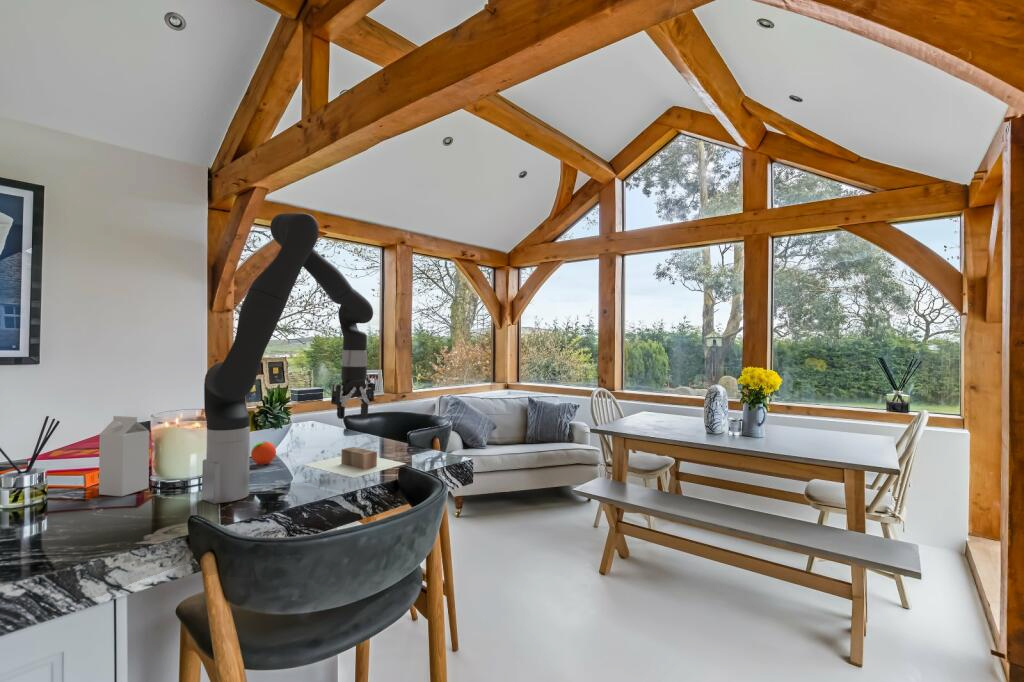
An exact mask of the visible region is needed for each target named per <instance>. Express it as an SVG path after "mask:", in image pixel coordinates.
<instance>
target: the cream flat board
mask: <svg viewBox="0 0 1024 682" xmlns="http://www.w3.org/2000/svg"><path fill="white" fill-rule="evenodd" d="M341 458H342V455H340V456H336V457H331V458H327V459H326V458H325V459H323V460H317V461H313V462H308V463H304V464H303V466H306V467H311V468H314V469H317V470H322V471H325V472H329V473H334V474H336V475H340V476H344V477H349V478H353V479H354V478H358V477H362V476H367V475H370V474H373V473H377V472H380V471H384V470H389V469H392V468H395V467H400V466H404V465H407V463H406V462H402V461H401V462H400V461H396V460H392V459H387V458H383V457H382V458H381V457H378V456H377V467H373V468H369V469H360V468H356V467H352V466H348V465H344V464H341Z"/></svg>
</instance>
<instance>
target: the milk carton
mask: <svg viewBox="0 0 1024 682" xmlns="http://www.w3.org/2000/svg"><path fill="white" fill-rule="evenodd" d="M98 444H99V455H98V458H99V459H98V460H99V463H98V466H99V467H98V470H99V471H98V475H99V476H98V494H99V495H103V496H111V497H112V496H113V497H124V496H129V495H130V494H134V493H138V492H141V491H144V490H147V489H149V485H150V482H149V480H150V478H149V477H150V475H149V471H150V469H149V468H150V455H149V454H150V430H149V428H147V427H145V426H144V425H142V424H141V423H140V422H138V417H137V416H125V415H124V416H123V415H113V417H112V421H111V422H110V423H108V425H107V426H105V428H104V429H103V430H102V431H101V432H100V433H99V443H98Z"/></svg>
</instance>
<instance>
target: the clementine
mask: <svg viewBox="0 0 1024 682" xmlns="http://www.w3.org/2000/svg"><path fill="white" fill-rule="evenodd" d="M276 453H277V449H276V447H275V445H274V444H272V443H271V442H268V441H262V442H258V443H256V444H255V445H254V446H253V447H252V449H251V452H250V455H251V459H252V461H253V462H254V463H255V464H257V465H260V466H263V465H264V464H265V465H268V464H270V463H271V462H272V461H273V460H274V459H275V457H276V455H277V454H276Z"/></svg>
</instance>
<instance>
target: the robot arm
mask: <svg viewBox="0 0 1024 682" xmlns="http://www.w3.org/2000/svg"><path fill="white" fill-rule="evenodd" d="M319 227H320V226H319V223H318V221H317V220H316V218H315V216H313V215H311V214H308V213H305V212H284V213H279V214H277V215H275V216H274V217H273V218H272V219H271V221H270V233H271V236H272V239H274V240H275V242H276V243H277V244H278V245H279V246H280V249H279V252H278V253H277V255H276V256H275V258H274V259H273V260H272V262H270V264H268V266H266V267H265V268H264V270H263V271H261V273H259V274H258V276H257V277H256V278H255V279H254V280H253V282H252V283H251V284H250V286H249V289H248V290H247V293H246V295H245V298H244V300H243V301H242V304H241V307H240V311H239V315H238V318H237V319H238V321H237V327H236V334H235V337H234V340H233V343H232V345H231V347H230V349H229V351H228V353H227V355H226V357H225V358H224V360H223V361H221V362H217V363H215V364H214V365H212V366H211V367H209V369H208V370H207V371H206V374H205V377H204V384H203V386H204V387H203V391H204V392H203V394H204V395H203V397H204V398H203V399H204V402H203V405H204V416H205V420H206V458H205V459H203V460H202V469H201V470H202V473H201V474H202V475H201V476H202V479H201V480H202V481H201V483H202V485H201V486H202V488H201V499H202V500H204V501H205V502H208V503H209V504H210V503H211V504H213V505H215V504H221V503H231V502H235V501H239V500H243V499H244V498H245V499H246V498H247V497H249V495H250V455H251V452H250V442H251V441H250V439H251V437H250V436H251V426H250V425H251V416H250V414H249V412H248V409H247V400H246V399H247V398H246V397H247V396H248V395H249V394H250V392H251V391H252V389H253V388H254V386H255V384H256V380H257V376H258V373H259V370H260V366H261V363H262V359H263V357H264V354H265V351H266V348H267V347H268V344H269V343H270V341H271V339H272V337H273V334H274V332H275V329H276V328H277V325H278V324H279V321H280V319H281V317H282V315H283V313H284V310H285V308H286V305H287V303H288V300H289V298H290V295H291V292H292V291H293V288H294V286H295V285H296V284H295V283H296V282H297V279H298V277H299V275H300V273H301V271H302V268H304V270H306V271H307V273H309V275H311V277H312V278H313V279H314V280H315V281H316V282H317V284H319V286H320V287H321V288H322V290H323V291H324V292H325V293H326V295H327V296H328V298H329V299H330V300H331V301H332V302H333V303H335V304H337V305H340V306H339V308H338V314H337V315H338V322H339V324H340V328H341V333H342V338H343V339H342V340H343V342H342V355H341V369H340V370H341V373H340V374H341V375H340V376H341V377H340V379H341V384H336V383H335V384H332V388H331V401H330V402H331V404H332V405H334V406H336V417H337V418H338V419H340V420H343V419H345V413H346V409H345V405H346V403H347V402H348V401H349V400H350V399H354V398H357V399H359V401H360V402H361V403H360V416H361V417H367V416H368V414H369V413H368V412H369V404H370V403H373V402H374V401H375V390H374V389H375V388H374V387H375V386H374V385H375V384H374V382H366V380H367V376H368V353H367V349H368V348H367V347H368V345H367V344H368V343H367V342H368V338H367V333H366V332H364V331H362V330H359V329H358V325H357V324H367V323H369V322H370V321H371V320H372V319H373V317H374V309H373V306H372V304H371V303H370V301H369V300H367V299H366V298H365V296H364V295H362V294H361V293H360V292H359V291H357V289H354V288H353V287H352V285H351V283H350V282H349V281H348V280H347V279H346V277H345V275H344V274H343V273H342V272H341V271H340V270H339V269H338V268H337V267H336V266H335V265H334V264H333V263H331V262H330V261H329V260H327V259H326V258H324V256H322V255H321V254H320V253H319V252H318V251H316V250H315V248H314V247H315V245H316V244H317V241H318V239H319V236H320V235H319V234H320V228H319Z"/></svg>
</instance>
